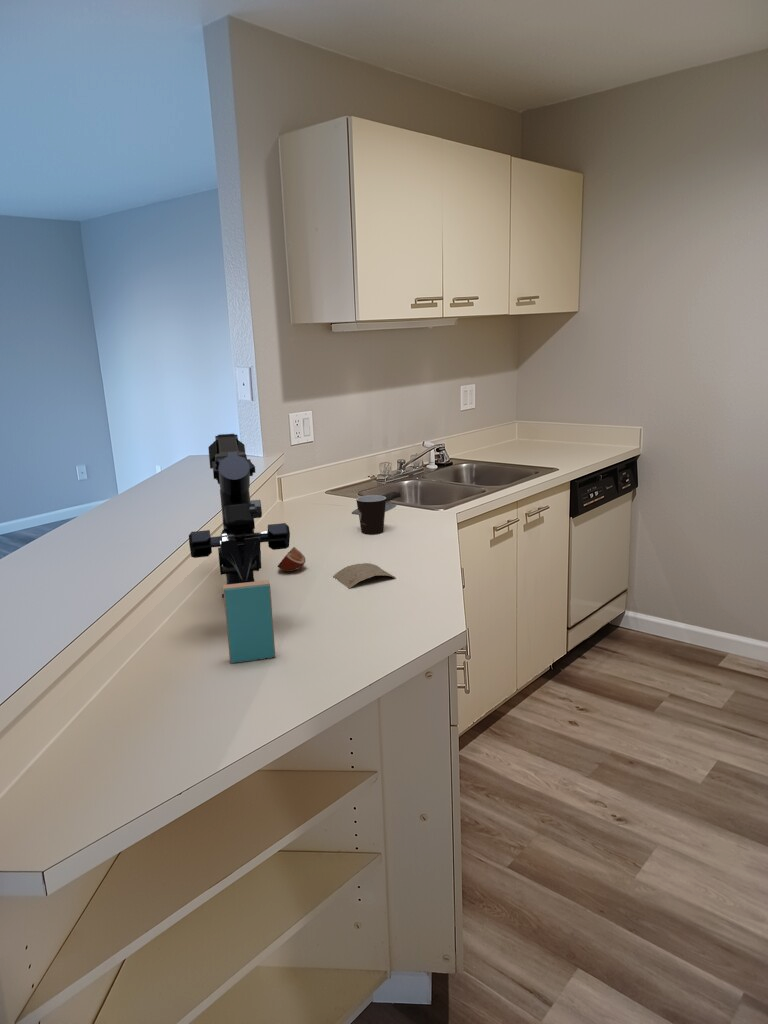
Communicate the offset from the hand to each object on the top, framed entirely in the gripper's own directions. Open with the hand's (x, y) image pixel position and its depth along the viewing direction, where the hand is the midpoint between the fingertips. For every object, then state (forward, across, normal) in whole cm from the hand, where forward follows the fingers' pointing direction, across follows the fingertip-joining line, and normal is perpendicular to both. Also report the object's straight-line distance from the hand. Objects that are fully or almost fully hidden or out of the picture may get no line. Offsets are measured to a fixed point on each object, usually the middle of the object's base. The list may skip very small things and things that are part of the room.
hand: (244, 579), depth 135 cm
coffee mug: (-40, +41, +58) cm, 82 cm away
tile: (+14, 0, +3) cm, 15 cm away
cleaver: (-62, +50, +80) cm, 113 cm away
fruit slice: (-20, +13, +38) cm, 45 cm away
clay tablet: (-11, +29, +30) cm, 43 cm away
